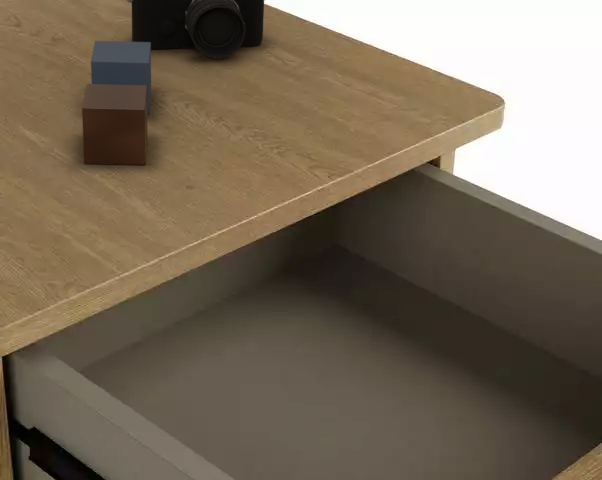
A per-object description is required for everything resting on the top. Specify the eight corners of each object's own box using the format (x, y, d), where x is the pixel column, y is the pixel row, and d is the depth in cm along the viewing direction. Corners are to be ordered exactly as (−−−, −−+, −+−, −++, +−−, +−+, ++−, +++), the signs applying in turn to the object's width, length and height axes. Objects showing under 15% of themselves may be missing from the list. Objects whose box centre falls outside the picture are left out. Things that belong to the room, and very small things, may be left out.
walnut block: (84, 164, 106) (81, 107, 104) (88, 138, 110) (86, 83, 108) (145, 165, 107) (144, 109, 104) (147, 139, 111) (147, 84, 108)
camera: (131, 65, 125) (130, -16, 121) (124, 38, 131) (123, -40, 127) (277, 61, 128) (280, -19, 124) (263, 35, 134) (266, -42, 130)
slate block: (92, 114, 115) (90, 61, 112) (96, 92, 119) (94, 40, 116) (149, 115, 115) (149, 62, 113) (151, 93, 119) (150, 42, 117)
